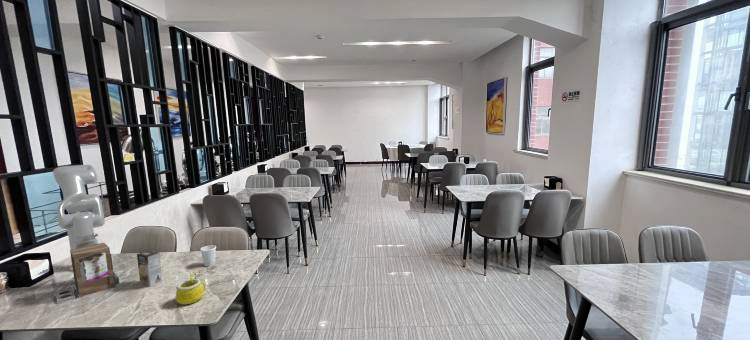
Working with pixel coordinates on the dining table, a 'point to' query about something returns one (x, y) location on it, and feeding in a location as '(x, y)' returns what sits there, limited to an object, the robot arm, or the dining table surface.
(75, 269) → the tunnel
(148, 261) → the coffee box
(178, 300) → the yellow potted plant
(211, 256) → the dixie cup
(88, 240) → the robot arm
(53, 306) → the dining table surface
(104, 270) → the candy bar box
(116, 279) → the slider
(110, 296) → the dining table surface
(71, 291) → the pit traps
